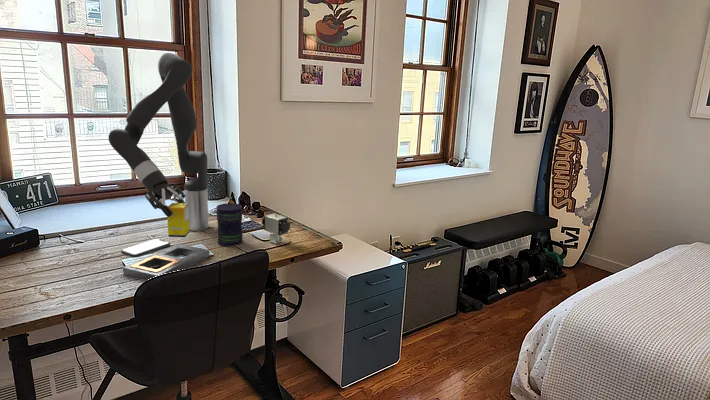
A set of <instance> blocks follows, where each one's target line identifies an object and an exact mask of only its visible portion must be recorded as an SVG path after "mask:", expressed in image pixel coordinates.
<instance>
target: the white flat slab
mask: <svg viewBox="0 0 710 400" xmlns="http://www.w3.org/2000/svg"><path fill="white" fill-rule="evenodd" d="M169 247H171V243H170V242H169V241H168V240H167V241H166V240H164V239H160V238H153V239H150V240H148V241H144V242H141V243H138V244H135V245H132V246H129V247H124V248H123V249H121V250H120V253H121V254H124V255H126V256H128V257H131V258H138V257H140V256H144V255H148V254H150V253H153V252H158V251H161V250H164V249H167V248H169Z"/></svg>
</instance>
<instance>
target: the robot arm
mask: <svg viewBox="0 0 710 400" xmlns="http://www.w3.org/2000/svg"><path fill="white" fill-rule="evenodd" d="M157 70H158V75H159V76H160V79H161V82H162V83H161V84H160V86H158V87H157V88H156V89H154V90H153V91H152V92H150V93H148V94H147V95H146V96H144V97H142V98H141V99H140V100H139V101H138V102H137V103H136V104H135V105H134V106H133V107H132V109H131V111H130V112H129V113H128V114H127V116H126V123H127V124H126V126H125V128H124V129H123V128H114V129H113V130H111V131H110V132H109V133H108V143H109V144H110V146H111V147H112V149H113V150H114V151H115V152H116V153H117V154H118V155H119V156H120V157H122V159H124V160H125V162H126V163H127V164H128V166H129V167H130V169H131V170H132V171H133V172H134V175H135V176H136V177H137V179H138V180H139V182H140V183H141V184H142V186H143V187H144V188H145V189H146V191H147V193H146V194H145V196H144V197H145V199H146V200H147V202H149V204H150V205H151V206H152V207H153V209H154V210H157V209H159V210H161V211H162V212H163V214H164V215H165V216H166V217H170V216H171V215H172V214H173V213H172V212H171V210H170V209H169V208H168V206H169V205H166V201H169V200H170V201H171V202H174V203H188V204H189V226H190V231H195V232H196V231H197V232H198V231H203V230H207V229H208V228H209V199H208V198H209V197H208V155H207V153H206V152H205V151H199V150H198V151H194V150H188V144H189V142H190V140H191V138H192V136H193V135H194V134H195V132H196V130H197V126H198V123H197V116H196V111H195V108H194V106H193V103H192V102H191V99H190V98H189V96H188V94H187V92H186V90H185V88H184V86H185V85H186V84H187V83H188V82H189V80H190V79H191V77H192V75H193V67H192V64H191V63H190V62H189V61H187V60H185V59H184V58H183V57H181V56H179V55H177V54H175V53H172V52H166V53H163V54H161V56H160V57H159V58H158V62H157ZM166 103H167V107H168V111H169V116H170V120H171V125H172V129H173V134H174V137H175V141H176V142H175V143H176V149H177V156H178V157H177V158H178V165H179V169H180V170H181V172H182V173H184V174H197V177H196V178H193V179H190V180H187V181H186V182H184V189H183V190H184V191H183V190H182V189H181V188H180V187H179V185H178V184H177V183H174V185H170V184H169V183H168V179H167V177H165V174H164V173H163V172H162V170H160V168H159V167H158V166H157V165H156V163H155V162H153V160H152V159H151V158H150V156H149V155H148V154H147V153H146V151H144V149H143V148H140V147H139V146H138V144H139V142H140V141H141V139H142V136H143V134H144V131H145V129H146V128H147V127H148V125H149V124H150V122H152V120H153V118H154V117H155V116H156V114H157V113H158V112H159V111H160V109H161V108H162V107H164V105H166Z"/></svg>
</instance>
